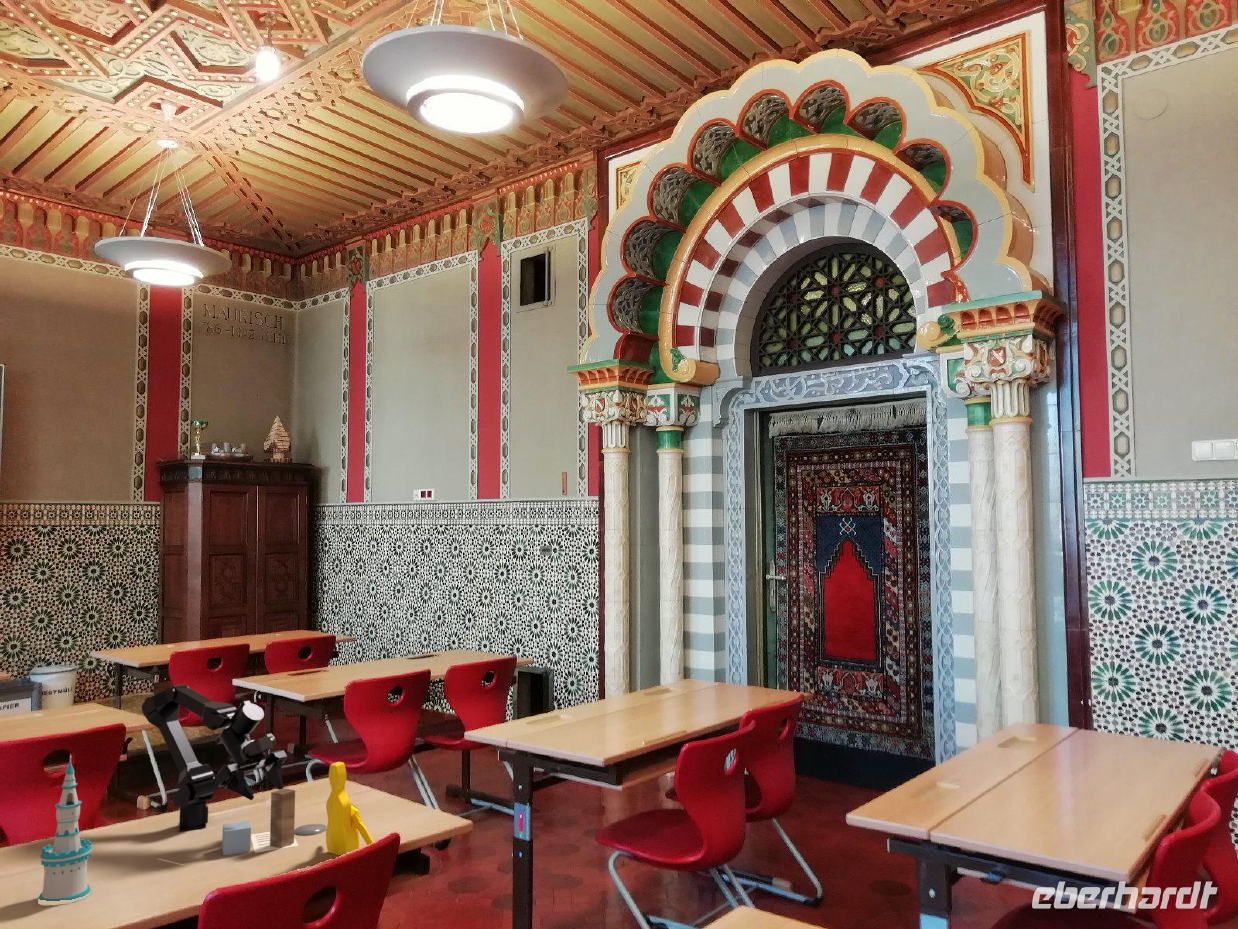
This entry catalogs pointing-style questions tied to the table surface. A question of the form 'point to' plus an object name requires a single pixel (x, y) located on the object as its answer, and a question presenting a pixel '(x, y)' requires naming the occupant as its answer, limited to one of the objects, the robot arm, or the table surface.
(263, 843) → the letter
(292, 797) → the walnut block
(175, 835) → the table surface
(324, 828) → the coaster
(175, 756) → the robot arm
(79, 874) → the model tower
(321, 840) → the table surface
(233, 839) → the grey cube
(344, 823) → the figure statuette
